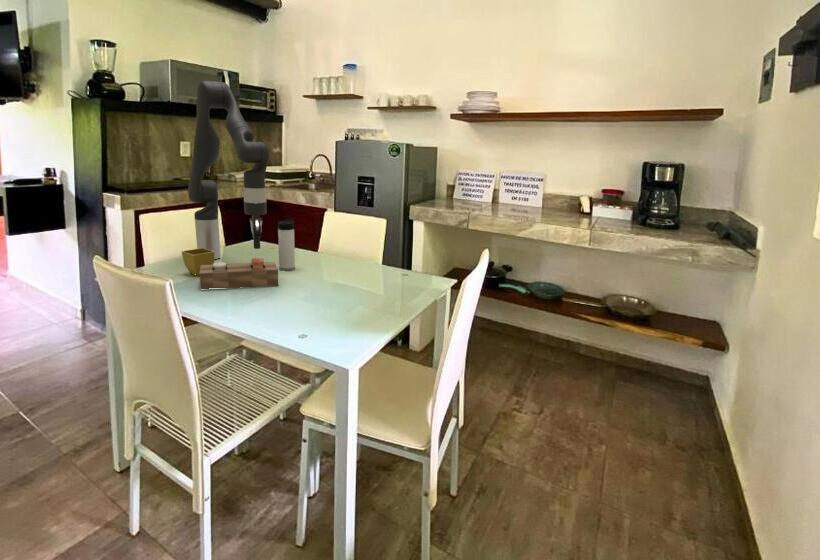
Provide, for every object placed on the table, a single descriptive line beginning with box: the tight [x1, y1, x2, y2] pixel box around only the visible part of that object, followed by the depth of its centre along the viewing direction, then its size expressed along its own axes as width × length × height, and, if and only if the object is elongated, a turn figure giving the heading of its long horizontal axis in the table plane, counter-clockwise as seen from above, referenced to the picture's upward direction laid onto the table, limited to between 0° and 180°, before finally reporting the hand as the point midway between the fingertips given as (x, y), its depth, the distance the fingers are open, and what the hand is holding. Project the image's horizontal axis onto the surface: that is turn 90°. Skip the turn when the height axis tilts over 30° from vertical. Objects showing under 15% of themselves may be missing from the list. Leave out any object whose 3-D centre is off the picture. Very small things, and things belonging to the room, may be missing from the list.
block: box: [199, 261, 279, 290], centre depth 175 cm, size 12×26×6 cm, turn 111°
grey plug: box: [213, 261, 227, 270], centre depth 172 cm, size 4×4×7 cm
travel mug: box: [277, 218, 296, 272], centre depth 195 cm, size 6×7×20 cm
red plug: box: [250, 257, 265, 269], centre depth 177 cm, size 4×4×7 cm
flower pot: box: [180, 248, 215, 276], centre depth 184 cm, size 9×9×9 cm
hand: (257, 248), depth 175 cm, fingers closed
